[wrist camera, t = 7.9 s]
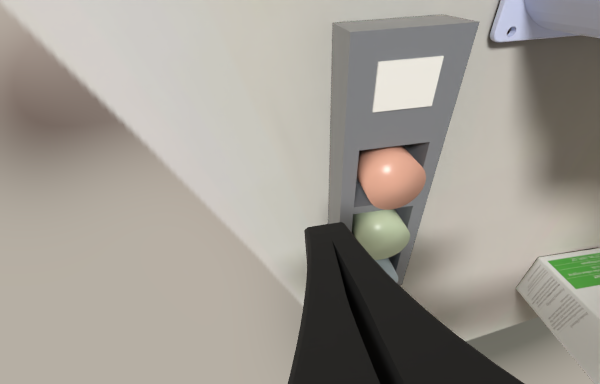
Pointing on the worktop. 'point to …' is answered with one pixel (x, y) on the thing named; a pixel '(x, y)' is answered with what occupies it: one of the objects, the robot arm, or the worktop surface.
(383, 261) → the blue button
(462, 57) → the console
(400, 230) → the sage button
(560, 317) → the skincare box
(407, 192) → the terracotta button
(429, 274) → the worktop surface
